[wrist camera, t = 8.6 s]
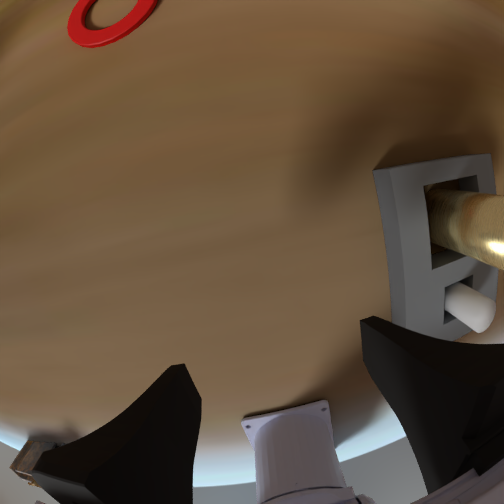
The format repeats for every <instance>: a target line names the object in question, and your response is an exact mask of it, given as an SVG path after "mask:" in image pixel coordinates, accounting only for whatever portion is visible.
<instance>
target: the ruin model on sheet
mask: <svg viewBox="0 0 504 504" xmlns="http://www.w3.org/2000/svg"><path fill="white" fill-rule="evenodd" d="M56 445H57V444H56V443H48V442H34V441H27V442H26V443H25V445H24V446H23V448H22V449H21V451H20V452H19V454H18V455H17V457H16V458H15V460H14V461H13V463H12V464H11V466H10V469H11V470H12V471H13V472H14V473H15V474H16V475H17V476H18V477H19V478H21V479H23V480H26V481H29V482H31V483H29V482H28V484H29V485H32V486H37V487H40V486H39V485H38V484H37V482H36V481H35V480H34V479H33V477H32V474H31V471H32V469H33V467H34V466H35V464H36V462H37V461H38V459H39V457H40V456H41V454H42V453H43V452H44V451H47V450H51V449H54V448H55V446H56ZM63 445H65V444H64V443H62V444H61V446H63ZM40 488H41V487H40Z"/></svg>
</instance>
